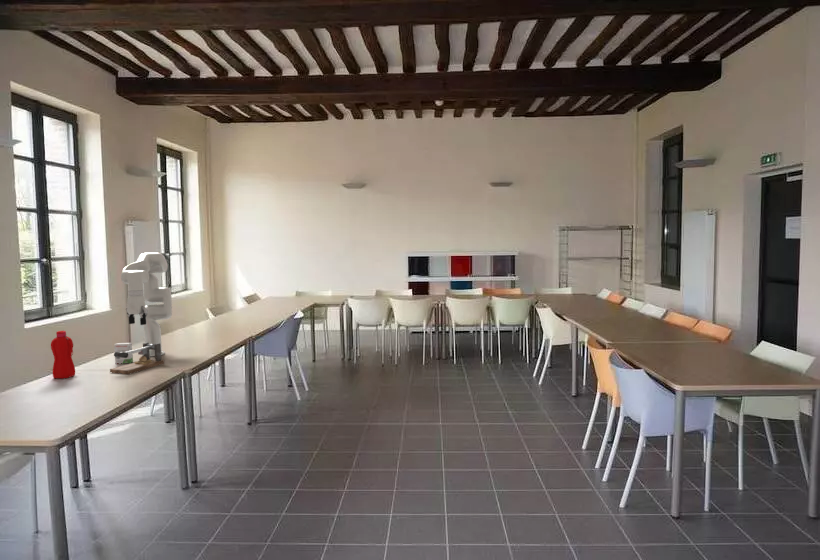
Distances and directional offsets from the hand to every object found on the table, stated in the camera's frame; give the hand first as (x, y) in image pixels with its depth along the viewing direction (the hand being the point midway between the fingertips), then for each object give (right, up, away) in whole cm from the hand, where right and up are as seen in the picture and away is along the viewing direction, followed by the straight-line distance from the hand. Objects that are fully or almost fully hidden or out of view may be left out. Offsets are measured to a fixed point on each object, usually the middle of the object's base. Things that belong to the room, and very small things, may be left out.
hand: (137, 324), depth 313 cm
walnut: (-2, -21, +11) cm, 24 cm away
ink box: (-18, -25, +21) cm, 37 cm away
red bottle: (-33, -28, -11) cm, 45 cm away
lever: (-3, -18, +7) cm, 20 cm away
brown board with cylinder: (-3, -26, +7) cm, 27 cm away
